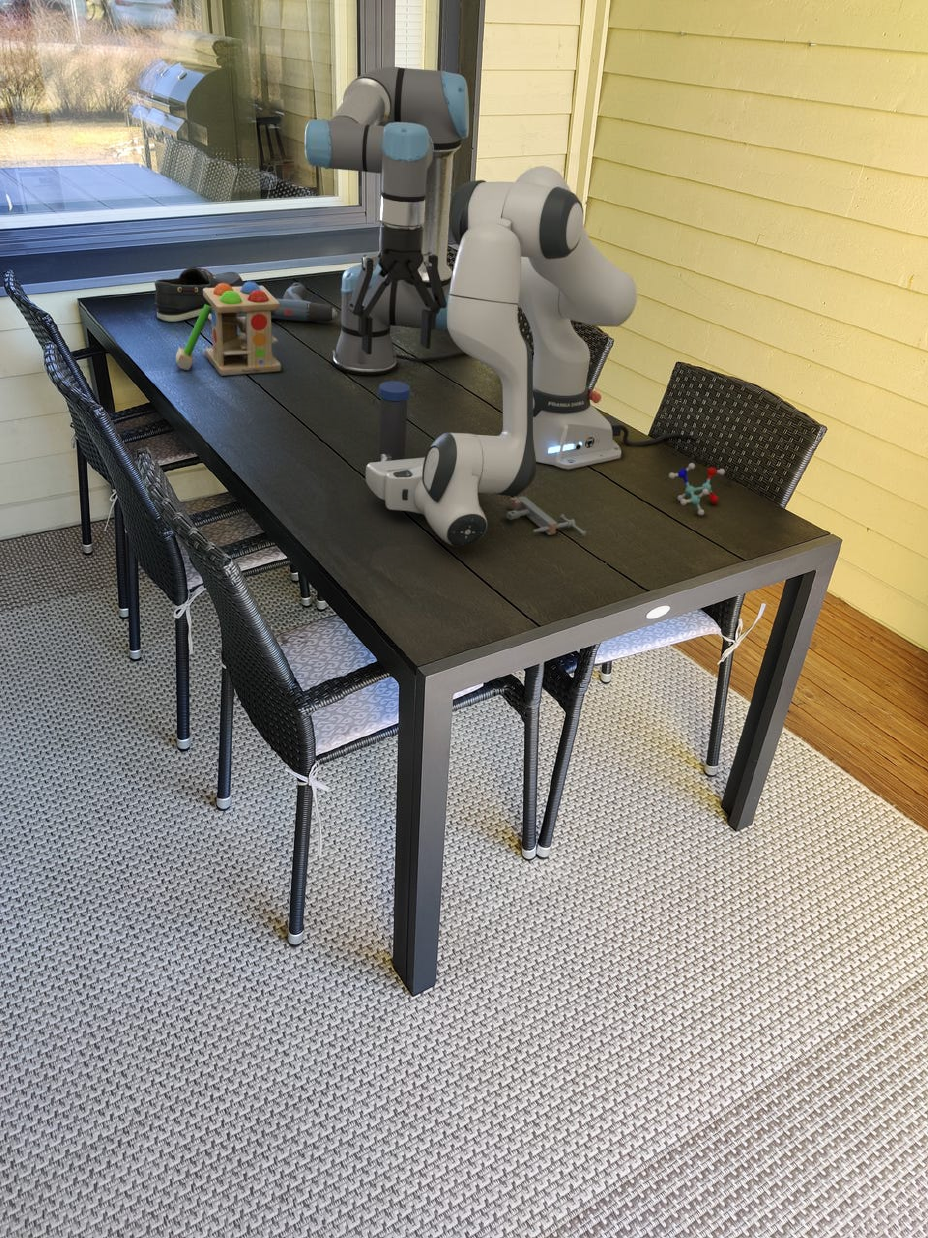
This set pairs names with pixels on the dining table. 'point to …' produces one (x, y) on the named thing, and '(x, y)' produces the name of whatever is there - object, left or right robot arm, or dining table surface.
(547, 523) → the clamp
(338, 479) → the dining table surface
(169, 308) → the boat shoe
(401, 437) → the jar
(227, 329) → the pounding bench toy
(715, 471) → the molecular model
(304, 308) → the power drill
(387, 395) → the lid
